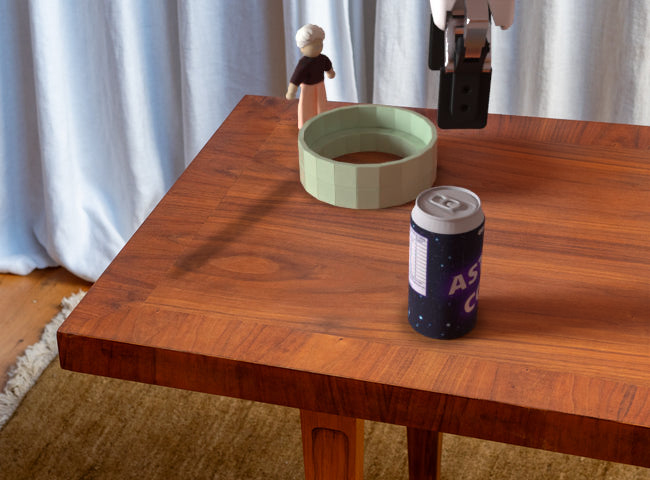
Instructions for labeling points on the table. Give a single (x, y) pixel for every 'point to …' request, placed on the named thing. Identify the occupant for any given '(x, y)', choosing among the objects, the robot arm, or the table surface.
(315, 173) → the green faceted ring
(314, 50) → the grandmother figurine
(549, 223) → the table surface
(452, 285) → the beverage can
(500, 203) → the table surface
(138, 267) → the table surface
